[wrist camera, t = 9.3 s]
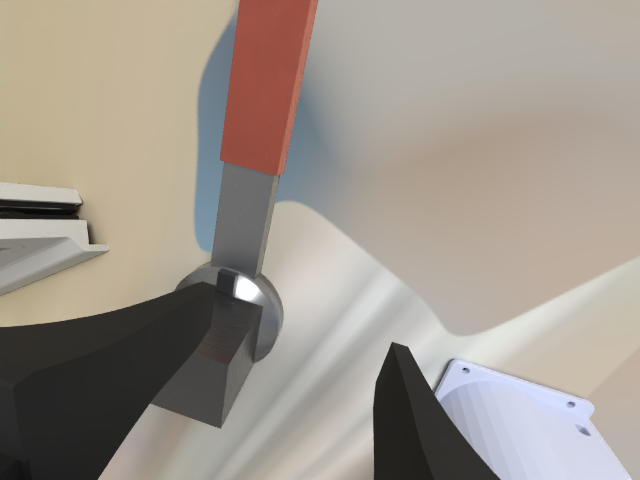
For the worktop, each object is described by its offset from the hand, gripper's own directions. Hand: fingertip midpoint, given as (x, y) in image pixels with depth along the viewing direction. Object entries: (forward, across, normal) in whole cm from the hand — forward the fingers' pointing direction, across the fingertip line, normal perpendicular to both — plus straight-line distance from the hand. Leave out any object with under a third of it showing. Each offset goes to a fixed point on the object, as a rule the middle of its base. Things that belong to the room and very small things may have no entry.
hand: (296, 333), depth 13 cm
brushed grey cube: (+8, +6, +7) cm, 12 cm away
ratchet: (+9, +6, -1) cm, 11 cm away
